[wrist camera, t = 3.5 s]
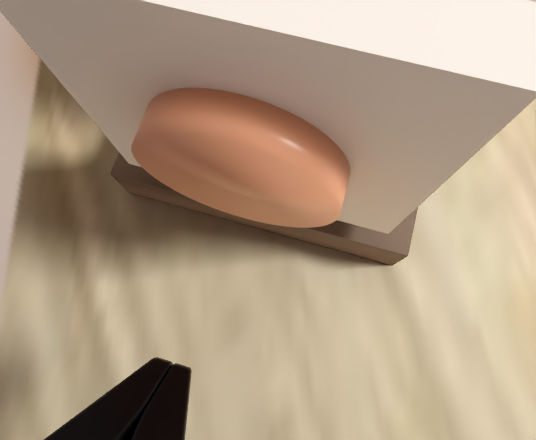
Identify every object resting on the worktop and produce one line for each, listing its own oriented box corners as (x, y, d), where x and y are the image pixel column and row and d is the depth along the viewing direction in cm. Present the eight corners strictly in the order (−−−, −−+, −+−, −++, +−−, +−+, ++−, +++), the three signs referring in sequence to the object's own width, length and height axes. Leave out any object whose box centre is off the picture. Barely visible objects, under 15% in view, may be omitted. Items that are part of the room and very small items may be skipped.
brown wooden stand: (392, 265, 16) (475, 213, 9) (129, 192, 17) (33, 98, 10) (431, 82, 18) (521, -68, 12) (196, 27, 19) (153, -140, 13)
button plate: (381, 263, 13) (533, 157, 5) (118, 190, 14) (-77, 8, 6) (397, 191, 14) (552, 5, 6) (144, 125, 15) (-2, -112, 7)
